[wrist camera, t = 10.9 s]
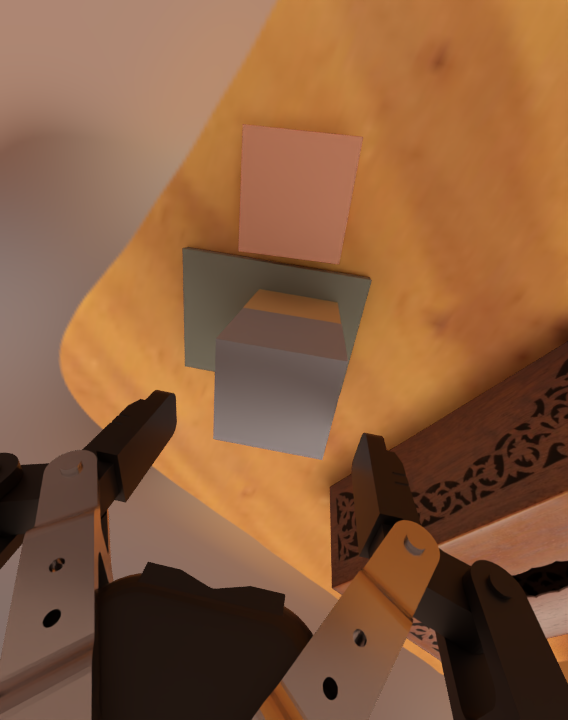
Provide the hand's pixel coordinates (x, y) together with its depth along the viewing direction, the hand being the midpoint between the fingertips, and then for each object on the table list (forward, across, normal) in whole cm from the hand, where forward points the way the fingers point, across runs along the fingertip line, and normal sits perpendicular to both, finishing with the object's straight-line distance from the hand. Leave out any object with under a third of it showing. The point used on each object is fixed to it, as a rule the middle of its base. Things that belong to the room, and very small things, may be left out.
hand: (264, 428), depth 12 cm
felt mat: (+13, +2, 0) cm, 13 cm away
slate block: (+7, 0, 0) cm, 7 cm away
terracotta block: (+13, +1, -9) cm, 16 cm away
